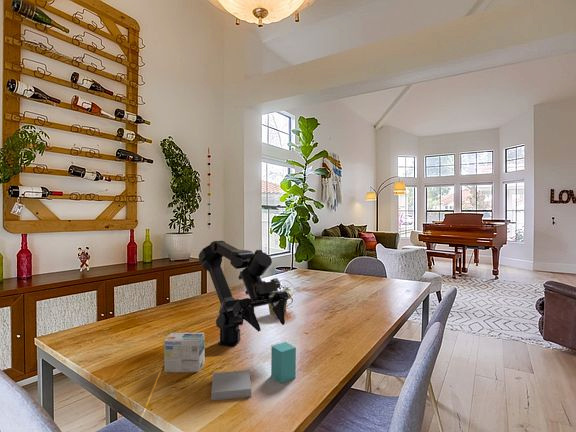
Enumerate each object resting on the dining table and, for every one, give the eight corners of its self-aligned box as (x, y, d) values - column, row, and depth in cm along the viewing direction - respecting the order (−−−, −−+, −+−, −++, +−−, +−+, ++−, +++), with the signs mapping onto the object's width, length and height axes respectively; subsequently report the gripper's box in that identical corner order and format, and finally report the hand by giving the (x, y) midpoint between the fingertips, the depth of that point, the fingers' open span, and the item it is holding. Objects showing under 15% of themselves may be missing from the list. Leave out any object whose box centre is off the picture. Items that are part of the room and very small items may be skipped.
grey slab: (213, 380, 92) (213, 373, 92) (248, 376, 94) (248, 369, 94) (211, 400, 83) (211, 392, 83) (251, 396, 84) (251, 388, 84)
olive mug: (262, 316, 151) (262, 294, 151) (273, 310, 160) (273, 290, 160) (287, 321, 145) (287, 298, 145) (297, 314, 154) (297, 293, 154)
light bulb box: (205, 365, 104) (205, 331, 103) (200, 376, 97) (200, 340, 97) (170, 365, 103) (170, 331, 103) (163, 376, 96) (163, 340, 96)
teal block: (271, 380, 95) (271, 345, 95) (285, 375, 98) (285, 341, 98) (281, 387, 91) (281, 351, 91) (295, 382, 94) (295, 347, 94)
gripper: (238, 273, 98) (257, 321, 90) (287, 267, 110) (307, 309, 102) (225, 292, 105) (241, 339, 97) (272, 284, 117) (290, 325, 109)
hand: (272, 327), depth 101 cm, fingers open, 9 cm apart
